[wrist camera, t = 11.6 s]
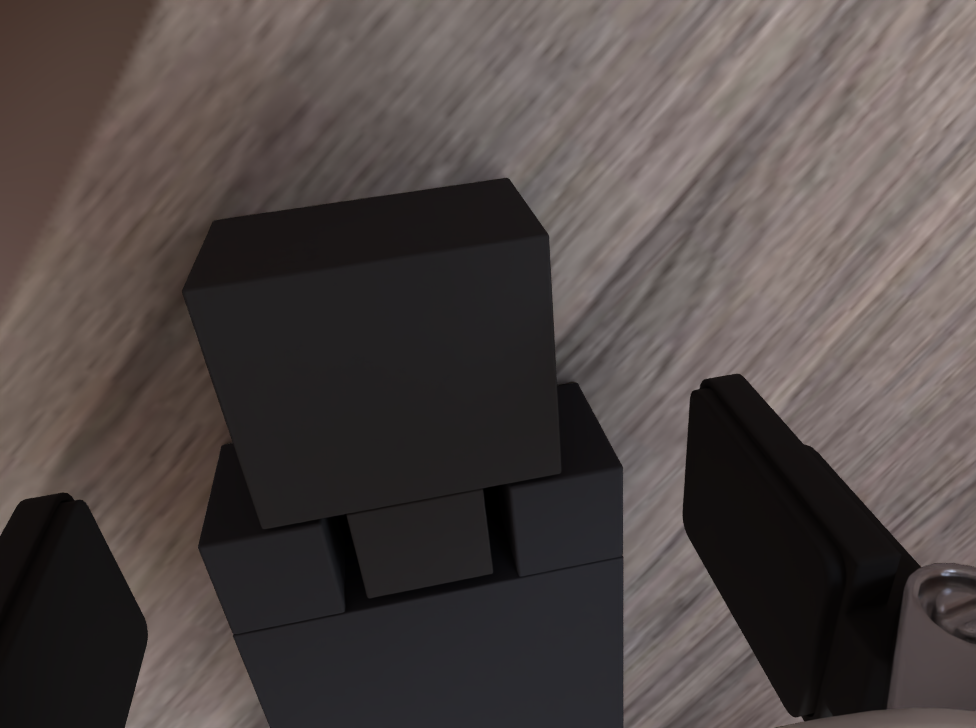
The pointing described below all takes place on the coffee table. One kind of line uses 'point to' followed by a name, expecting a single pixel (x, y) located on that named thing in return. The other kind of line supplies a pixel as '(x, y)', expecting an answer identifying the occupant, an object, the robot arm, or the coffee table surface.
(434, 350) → the pad
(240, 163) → the coffee table surface
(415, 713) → the notch pad
